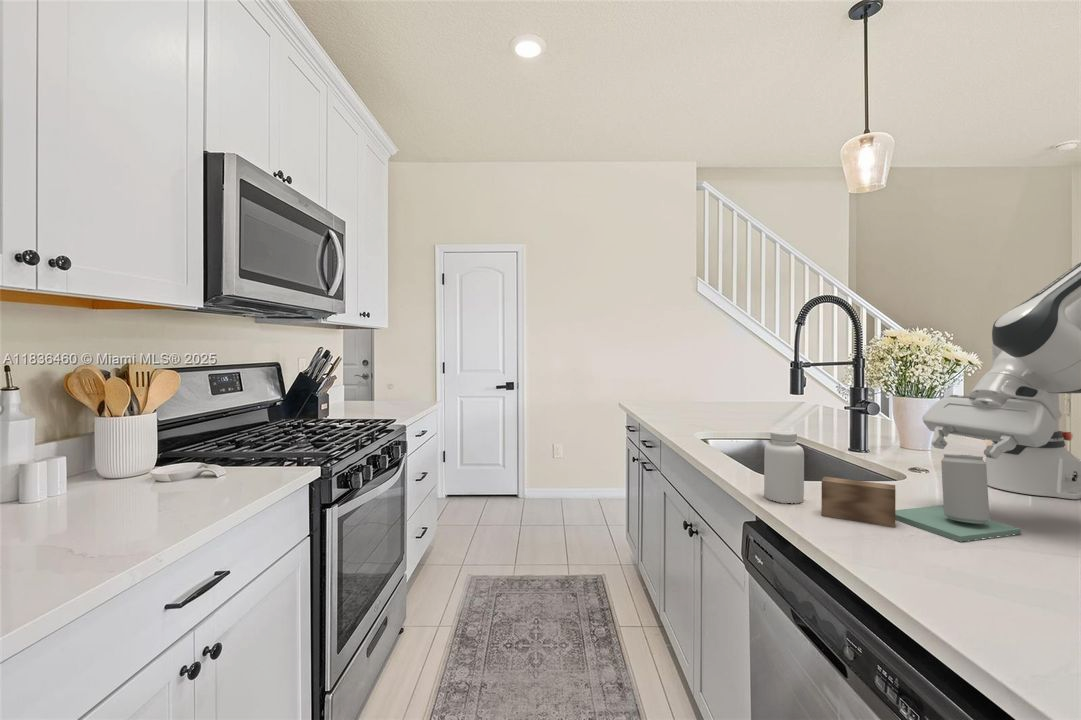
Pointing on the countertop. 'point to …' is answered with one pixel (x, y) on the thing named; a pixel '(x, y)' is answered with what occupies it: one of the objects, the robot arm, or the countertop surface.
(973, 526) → the green pad
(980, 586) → the countertop surface
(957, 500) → the beverage can
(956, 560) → the countertop surface
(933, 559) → the countertop surface
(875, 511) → the walnut screen
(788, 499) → the pill bottle
